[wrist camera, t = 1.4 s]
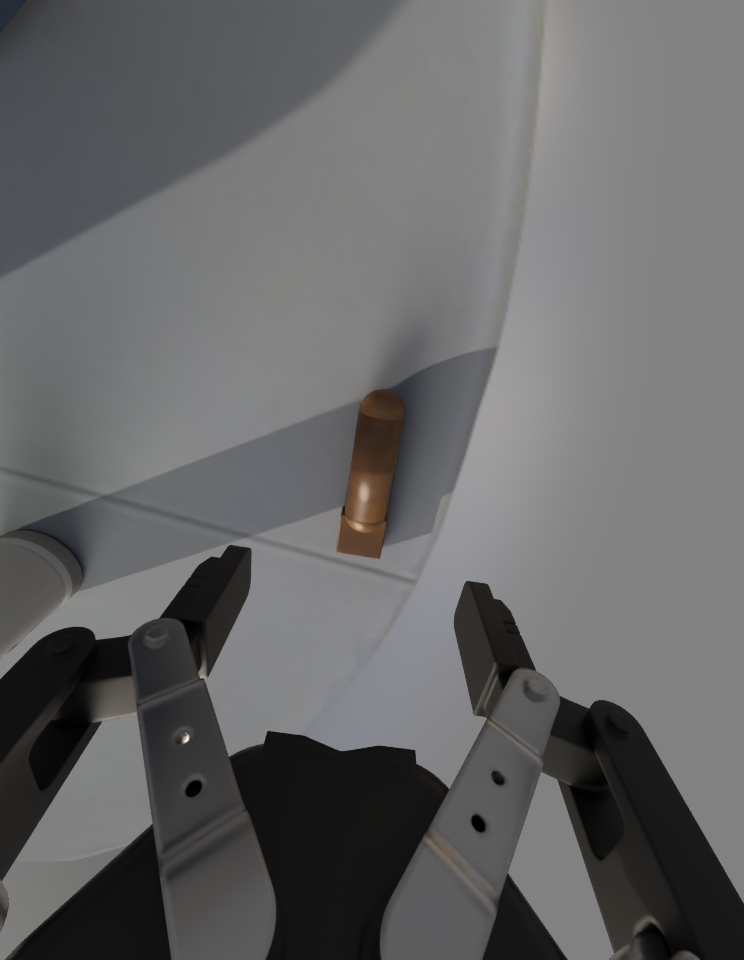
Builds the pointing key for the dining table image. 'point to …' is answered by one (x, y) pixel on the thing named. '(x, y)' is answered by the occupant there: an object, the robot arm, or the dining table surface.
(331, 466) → the dining table surface
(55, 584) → the travel mug
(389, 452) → the brown rounded bar
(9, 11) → the bowl
